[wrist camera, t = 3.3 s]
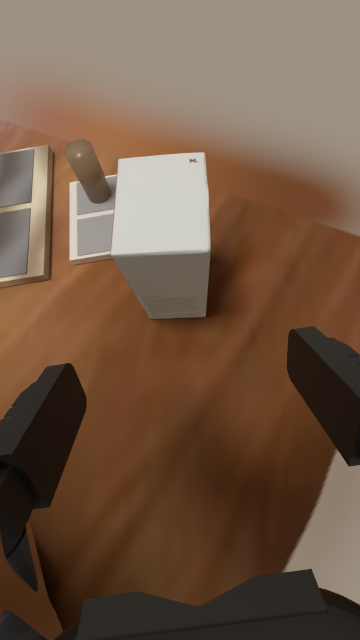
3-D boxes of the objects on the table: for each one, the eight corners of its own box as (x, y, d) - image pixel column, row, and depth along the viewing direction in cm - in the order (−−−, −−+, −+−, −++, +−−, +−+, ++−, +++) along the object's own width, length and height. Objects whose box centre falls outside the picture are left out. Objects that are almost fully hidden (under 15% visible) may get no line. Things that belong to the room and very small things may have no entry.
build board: (-56, 296, 30) (-67, 292, 29) (-33, 167, 37) (-42, 159, 35) (49, 279, 30) (42, 274, 29) (53, 152, 36) (47, 143, 35)
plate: (73, 264, 30) (38, 225, 23) (73, 188, 34) (42, 136, 27) (138, 254, 30) (121, 211, 23) (130, 178, 34) (114, 123, 27)
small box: (150, 256, 30) (116, 155, 17) (203, 254, 29) (206, 148, 17) (148, 321, 27) (107, 255, 15) (206, 319, 27) (213, 250, 15)
